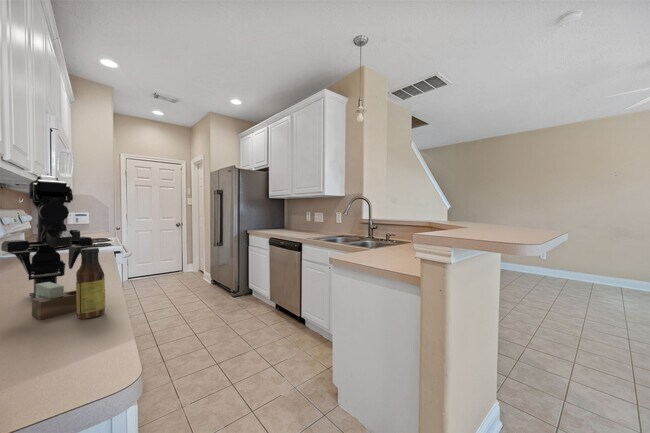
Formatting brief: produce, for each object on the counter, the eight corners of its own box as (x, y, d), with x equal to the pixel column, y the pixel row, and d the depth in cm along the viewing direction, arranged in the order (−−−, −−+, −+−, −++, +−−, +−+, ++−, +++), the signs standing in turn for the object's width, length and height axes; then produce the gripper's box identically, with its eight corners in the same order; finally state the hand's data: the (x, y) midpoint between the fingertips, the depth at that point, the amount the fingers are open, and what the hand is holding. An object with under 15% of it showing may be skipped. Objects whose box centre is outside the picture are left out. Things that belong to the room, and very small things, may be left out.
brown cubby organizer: (31, 316, 75) (32, 298, 75) (84, 303, 86) (84, 288, 86) (40, 320, 72) (40, 302, 72) (93, 306, 83) (94, 291, 83)
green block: (35, 309, 79) (35, 283, 79) (48, 306, 82) (49, 281, 82) (49, 316, 75) (49, 288, 75) (63, 312, 78) (63, 286, 78)
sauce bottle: (110, 312, 79) (111, 247, 79) (90, 320, 73) (91, 250, 72) (91, 311, 79) (92, 246, 79) (69, 319, 73) (70, 249, 73)
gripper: (15, 222, 68) (14, 281, 68) (101, 221, 85) (100, 268, 85) (1, 221, 73) (0, 276, 73) (85, 220, 90) (84, 265, 90)
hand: (50, 271), depth 80 cm, fingers open, 9 cm apart
